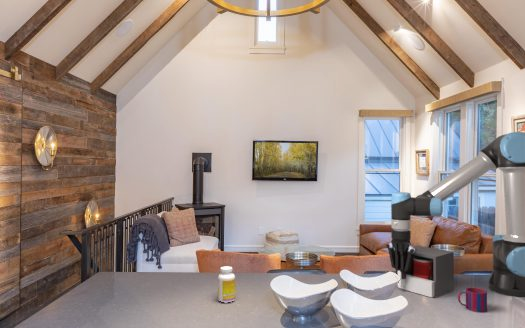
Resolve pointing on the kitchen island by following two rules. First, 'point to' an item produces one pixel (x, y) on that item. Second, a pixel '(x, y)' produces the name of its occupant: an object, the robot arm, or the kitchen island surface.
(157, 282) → the kitchen island surface
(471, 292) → the mug
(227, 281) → the supplement bottle
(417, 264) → the canned food
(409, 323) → the kitchen island surface
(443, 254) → the housing
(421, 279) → the tray
